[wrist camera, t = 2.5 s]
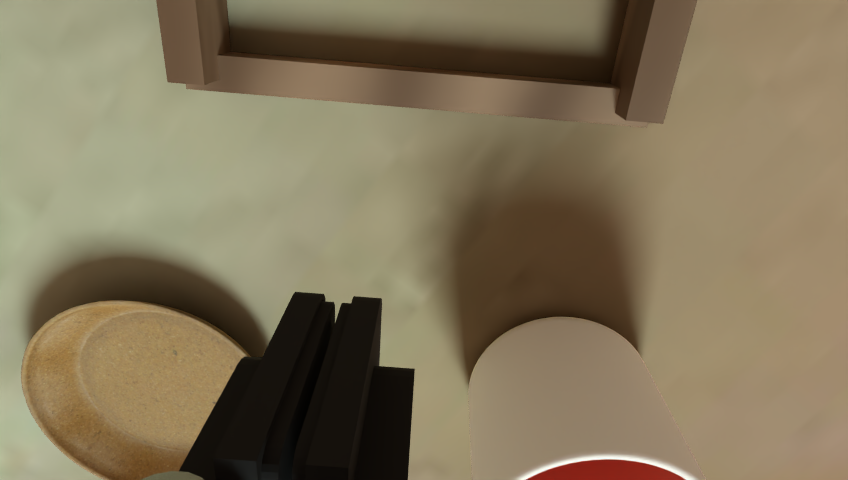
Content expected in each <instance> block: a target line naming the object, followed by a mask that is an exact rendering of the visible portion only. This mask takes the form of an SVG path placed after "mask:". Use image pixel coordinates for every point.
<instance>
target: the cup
mask: <svg viewBox="0 0 848 480" xmlns="http://www.w3.org/2000/svg"><path fill="white" fill-rule="evenodd" d="M468 406H469V427H470V448H471V471H472V480H706V478H705V476H704V474H703V472H702V470H701V468H700V467H699V465H698V463H697V461H696V459H695V457H694V455H693V453H692V452H691V450H690V448H689V446H688V444H687V442H686V440H685V438H684V436H683V435H682V433H681V431H680V429H679V427H678V425H677V423H676V421H675V419H674V418H673V416H672V414H671V412H670V410H669V408H668V406H667V404H666V402H665V401H664V399H663V397H662V395H661V393H660V391H659V389H658V387H657V386H656V384H655V382H654V380H653V378H652V376H651V374H650V372H649V370H648V369H647V367H646V365H645V363H644V361H643V359H642V358H641V356H640V355H639V353H638V352H637V350H636V349H635V348H634V347H633V346H632V345H631V344H630V343H629V342H628V341H627V340H626V339H625V338H624V337H623V336H621V335H620V334H618V333H617V332H615V331H614V330H612V329H610V328H608V327H606V326H604V325H601V324H599V323H596V322H593V321H590V320H586V319H581V318H575V317H549V318H542V319H537V320H533V321H530V322H527V323H524V324H521V325H519V326H517V327H515V328H513V329H511V330H509V331H507V332H506V333H504V334H503V335H501V336H500V337H498V338H497V339H496V340H495V341H494V342H493V343H492V344H491V345H490V346H489V347H488V348H487V349H486V350H485V351H484V352H483V353H482V355H481V356H480V358H479V359H478V361H477V363H476V365H475V367H474V369H473V372H472V374H471V378H470V382H469V388H468Z"/></svg>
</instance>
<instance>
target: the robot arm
mask: <svg viewBox="0 0 848 480" xmlns="http://www.w3.org/2000/svg"><path fill="white" fill-rule="evenodd" d="M381 313H382V299H381V298H368V297H355V296H354V297H353V299H352V303H351V304H350V303H342V304H341V307H340V310H339V313H338V316H337V320H336V323H335V304H334V302H325V296H324V294H315V293H302V292H295V293H294V294H293V296H292V298H291V300H290V302H289V304H288V306H287V308H286V310H285V312H284V314H283V316H282V318H281V320H280V323H279V325H278V327H277V329H276V331H275V333H274V335H273V337H272V339H271V341H270V343H269V345H268V347H267V349H266V351H265V353H264V355H263V357H262V358H261V357H248V356H245V357H243V358H242V359H241V360H240V361H239V363H238V364H237V366H236V368H235V370H234V371H233V373H232V375H231V377H230V379H229V381H228V382H227V384H226V386H225V388H224V390H223V391H222V393H221V395H220V397H219V399H218V401H217V402H216V404H215V406H214V408H213V410H212V411H211V413H210V415H209V417H208V419H207V420H206V422H205V424H204V426H203V428H202V430H201V431H200V433H199V435H198V437H197V439H196V440H195V442H194V444H193V446H192V448H191V449H190V451H189V453H188V455H187V457H186V459H185V460H184V462H183V464H182V466H181V468H180V469H179V471H169V472H164V473H158V474H153V475H151V476H148V477H146V478H143V479H141V480H408V465H409V449H410V433H411V418H412V402H413V386H414V369H409V368H395V367H382V366H379V358H380V335H381Z"/></svg>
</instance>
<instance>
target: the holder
mask: <svg viewBox="0 0 848 480" xmlns="http://www.w3.org/2000/svg"><path fill="white" fill-rule="evenodd" d="M156 1H157V8H158V16H159V23H160V30H161V37H162V45H163V52H164V59H165V67H166V74H167V81H168V82H171V83H183V84H186V89H194V90H206V91H218V92H230V93H242V94H254V95H266V96H278V97H290V98H302V99H314V100H325V101H337V102H349V103H361V104H373V105H385V106H397V107H409V108H421V109H433V110H445V111H457V112H468V113H480V114H492V115H504V116H516V117H528V118H540V119H552V120H564V121H576V122H588V123H600V124H611V125H623V126H635V127H647V125H648V122H649V123H660V124H663V123H664V119H665V115H666V112H667V108H668V104H669V101H670V97H671V94H672V90H673V86H674V83H675V79H676V75H677V72H678V68H679V65H680V61H681V57H682V54H683V50H684V46H685V43H686V39H687V36H688V32H689V28H690V25H691V21H692V17H693V14H694V10H695V7H696V3H697V0H629V2H628V6H627V11H626V15H625V20H624V24H623V29H622V33H621V38H620V42H619V47H618V51H617V56H616V60H615V65H614V69H613V74H612V78H611V82H610V83H600V82H588V81H576V80H564V79H552V78H540V77H528V76H516V75H504V74H492V73H480V72H468V71H456V70H444V69H432V68H420V67H408V66H396V65H384V64H372V63H360V62H348V61H336V60H324V59H312V58H300V57H288V56H276V55H264V54H252V53H239V52H231V46H230V35H229V23H228V11H227V0H156Z"/></svg>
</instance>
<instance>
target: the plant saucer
mask: <svg viewBox="0 0 848 480" xmlns="http://www.w3.org/2000/svg"><path fill="white" fill-rule="evenodd" d="M245 356H248V357H251V356H250V355H249V354H248V353H247V352H246V351H245V350H244V349H243V348H242V347H241V346H240V345H239V344H238V343H237V342H236V341H235V340H234V339H232V338H231V337H230V336H229V335H227V334H226V333H225V332H223V331H222V330H220V329H219V328H217V327H215V326H214V325H212V324H210V323H209V322H207V321H205V320H203V319H201V318H199V317H196V316H194V315H192V314H189V313H187V312H184V311H181V310H178V309H175V308H172V307H168V306H164V305H160V304H155V303H149V302H142V301H125V300H108V301H98V302H92V303H88V304H83V305H79V306H76V307H73V308H70V309H68V310H66V311H64V312H62V313H59V314H58V315H56V316H55V317H53V318H52V319H50V320H48V321H47V322H46V323H45V324H44V325H43V326H42V327H41V328H40V329H39V330H38V331H37V332H36V333H35V335H33V337H32V339H31V340H30V342H29V343H28V345H27V348H26V350H25V353H24V357H23V363H22V369H21V382H22V389H23V393H24V396H25V398H26V403H27V406H28V408H29V410H30V412H31V414H32V416H33V418H34V419H35V421H36V423H37V424H38V425H39V427H40V428H41V430H42V431H43V432H44V434H45V435H46V436H47V437H48V438H49V439H50V441H51V442H52V443H53V444H54V445H55V446H56V447H57V448H58V449H59V450H60V451H61V452H63V453H64V454H65V456H67V457H68V458H69V459H71V460H72V461H73V462H75V463H76V464H77V465H79V466H80V467H82V468H83V469H85V470H87V471H88V472H90V473H92V474H94V475H96V476H97V477H99V478H101V479H103V480H141V479H143V478H146V477H148V476H151V475H153V474H158V473H164V472H169V471H179V469H180V468H181V466H182V464H183V462H184V460H185V459H186V457H187V455H188V453H189V451H190V449H191V448H192V446H193V444H194V442H195V440H196V439H197V437H198V435H199V433H200V431H201V430H202V428H203V426H204V424H205V422H206V420H207V419H208V417H209V415H210V413H211V411H212V410H213V408H214V406H215V404H216V402H217V401H218V399H219V397H220V395H221V393H222V391H223V390H224V388H225V386H226V384H227V382H228V381H229V379H230V377H231V375H232V373H233V371H234V370H235V368H236V366H237V364H238V363H239V361H240V360H241V359H242V358H243V357H245Z"/></svg>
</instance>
